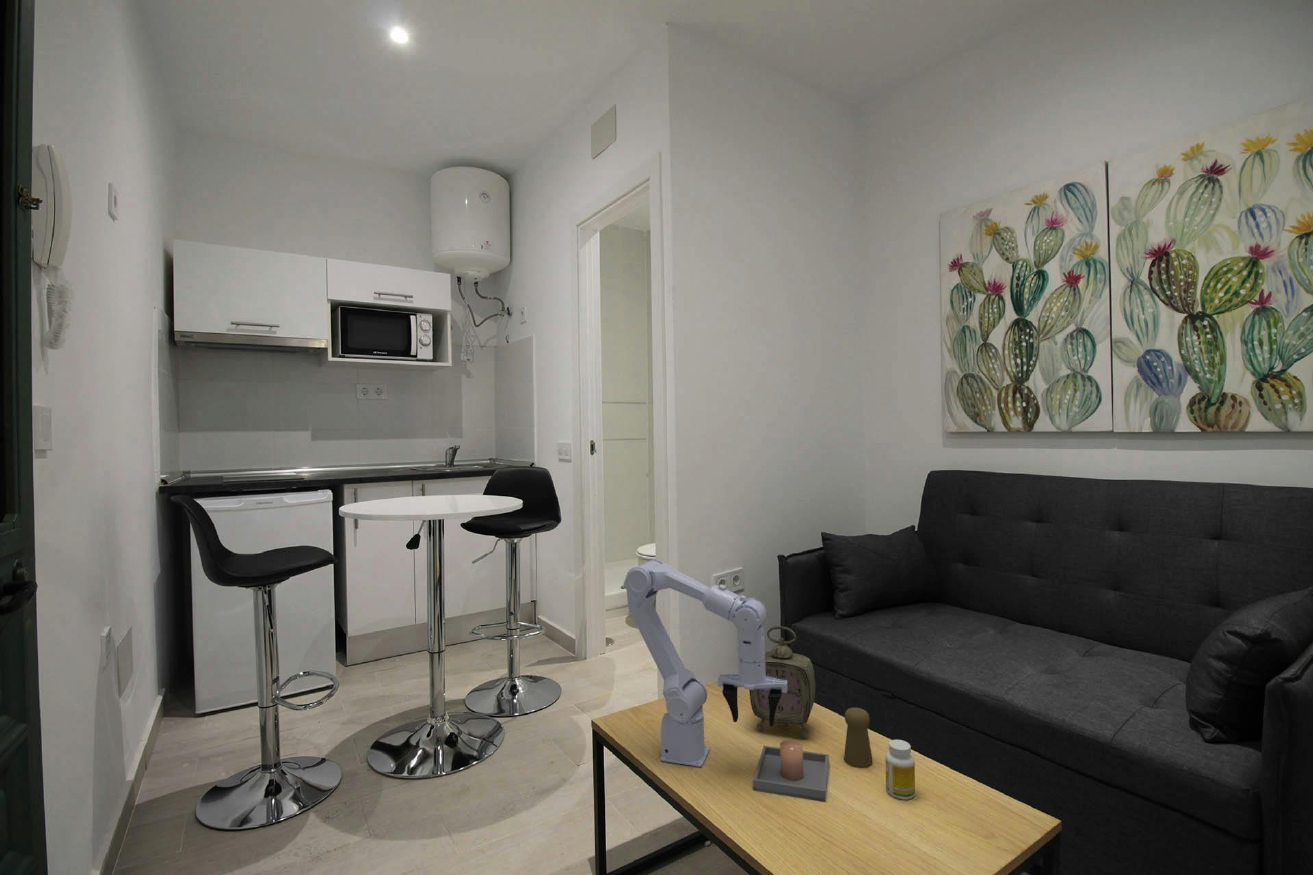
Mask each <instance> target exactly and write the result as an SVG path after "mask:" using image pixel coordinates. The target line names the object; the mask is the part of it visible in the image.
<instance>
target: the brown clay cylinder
mask: <svg viewBox="0 0 1313 875" xmlns="http://www.w3.org/2000/svg"><path fill="white" fill-rule="evenodd" d="M779 748H780V759H781V775H782V776H783V777H784V778H785V779H788V780H800V779H802V778H803V776H804V772H803V751H804V750H803V744H802V743H801V742H800V741H797V740H793V739H786V740H782V741H781V742H780V743H779Z"/></svg>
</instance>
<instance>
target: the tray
mask: <svg viewBox="0 0 1313 875" xmlns="http://www.w3.org/2000/svg"><path fill="white" fill-rule="evenodd" d="M829 767H830V756H829V754H828V753H822V752H821V753H819V752H813V751H804V750H803V772H804V776H803V778H802V779H800V780H788V779H785V778H784V777H783V776H782V775H781V759H780V747H777V746H768V745H763V746H762V750H761V753H760V756H759V759H758V762H757V767H756V770H755V773H754V777H753V780H752V781H753V782H752V784H753V786H752V787H753V791H757V792H758V791H759V792H765V793H771V794H777V795H783V796H791V797H795V798H801V799H808V800H814V801H820V802H826V799H827V789H828V787H827V786H828V778H829V777H828V776H829Z"/></svg>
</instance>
